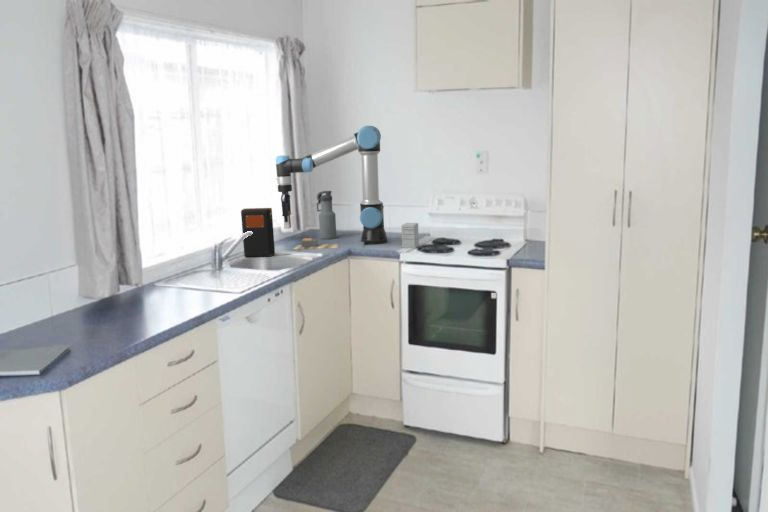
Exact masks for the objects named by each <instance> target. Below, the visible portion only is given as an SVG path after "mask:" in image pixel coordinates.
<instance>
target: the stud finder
mask: <svg viewBox="0 0 768 512" xmlns="http://www.w3.org/2000/svg"><path fill="white" fill-rule="evenodd" d="M301 245H302V247H316V246H317V245H319V244H318V239H314V238H308V237H307V238H302V240H301Z"/></svg>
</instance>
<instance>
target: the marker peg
mask: <svg viewBox="0 0 768 512" xmlns="http://www.w3.org/2000/svg"><path fill="white" fill-rule="evenodd" d="M288 216H289V225H290V228H289V229H291V228H292V223H291V221H290V219H291V215H290V211H288Z"/></svg>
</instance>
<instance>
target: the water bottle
mask: <svg viewBox="0 0 768 512" xmlns="http://www.w3.org/2000/svg"><path fill="white" fill-rule="evenodd" d="M323 194H324V195H323ZM316 200H317V203H316V211H317V212H320V213H319V214H318V224H319V225H318V227H319V238H320V239H321V240H325V239H328V240H333V239H332V238H335V239H336V238H337V223H336V222H337V219H336V213H335V211H333V196H332V190H322V191H319V192H318V193H317V195H316ZM319 204H320V208H319Z"/></svg>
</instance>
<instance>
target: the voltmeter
mask: <svg viewBox="0 0 768 512" xmlns="http://www.w3.org/2000/svg"><path fill="white" fill-rule="evenodd" d="M240 217H241V227H242V228H241V229H242V230H241V231H242V234H243V233H245V232H247V231H252V232H253V234H252V235H251V236H248V237H247V238H245V239H244V240H243V239H242V242H243V254H244V257H245V258H246V257H249V258H251V257H252V258H255V257H272V256H273V255H275V254H276V251H275V238H274V237H275V236H274V225H273V224H274V222H273V221H274V220H273V209H272V207H256V208H255V207H251V208H249V207H248V208H242V209H241V210H240Z"/></svg>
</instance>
